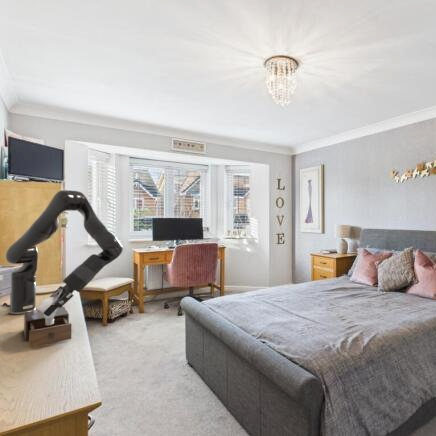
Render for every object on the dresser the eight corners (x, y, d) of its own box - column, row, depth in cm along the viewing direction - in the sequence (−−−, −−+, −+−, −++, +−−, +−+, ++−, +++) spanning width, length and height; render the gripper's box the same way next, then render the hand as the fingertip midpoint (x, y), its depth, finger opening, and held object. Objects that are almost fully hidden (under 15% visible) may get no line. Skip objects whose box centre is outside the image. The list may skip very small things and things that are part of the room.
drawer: (71, 339, 119) (71, 324, 119) (29, 348, 111) (29, 332, 111) (66, 329, 130) (66, 315, 130) (27, 337, 121) (27, 322, 121)
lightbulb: (63, 324, 123) (63, 296, 122) (45, 329, 117) (44, 300, 117) (53, 321, 125) (53, 294, 125) (35, 326, 120) (35, 298, 119)
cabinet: (68, 332, 129) (68, 313, 129) (25, 340, 120) (25, 321, 120) (64, 323, 140) (64, 306, 139) (23, 330, 130) (23, 312, 130)
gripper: (68, 269, 131) (32, 303, 123) (77, 274, 121) (38, 311, 113) (83, 280, 135) (49, 313, 127) (92, 285, 125) (56, 322, 117)
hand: (44, 312), depth 120 cm, fingers closed on lightbulb, 6 cm apart
